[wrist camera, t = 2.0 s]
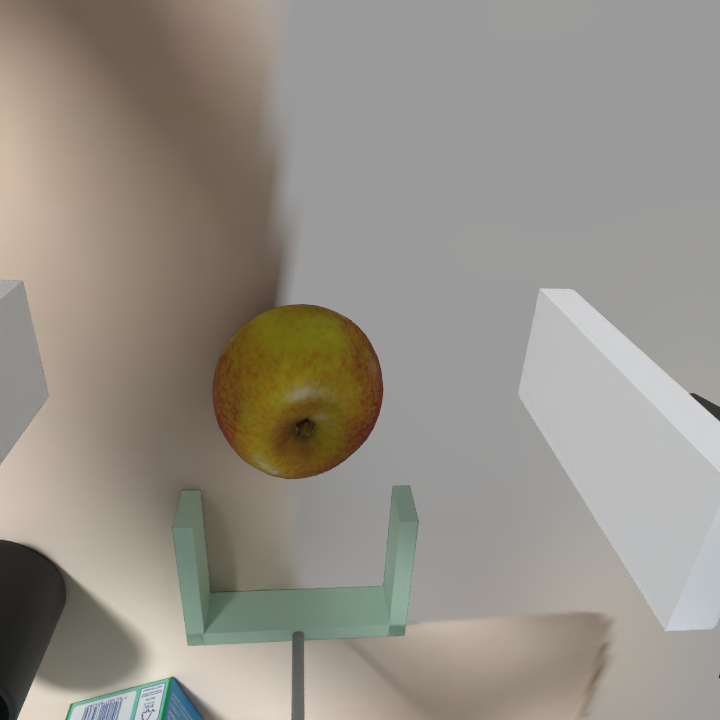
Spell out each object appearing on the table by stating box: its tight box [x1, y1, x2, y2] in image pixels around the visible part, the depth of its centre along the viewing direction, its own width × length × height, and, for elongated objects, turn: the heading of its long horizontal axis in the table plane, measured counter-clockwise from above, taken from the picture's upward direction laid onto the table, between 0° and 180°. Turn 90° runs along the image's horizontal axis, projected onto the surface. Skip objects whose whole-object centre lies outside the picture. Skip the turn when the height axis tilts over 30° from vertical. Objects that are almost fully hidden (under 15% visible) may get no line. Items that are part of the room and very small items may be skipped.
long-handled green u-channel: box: [172, 486, 419, 720], centre depth 36 cm, size 11×15×16 cm
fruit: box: [213, 304, 383, 479], centre depth 32 cm, size 10×9×8 cm
